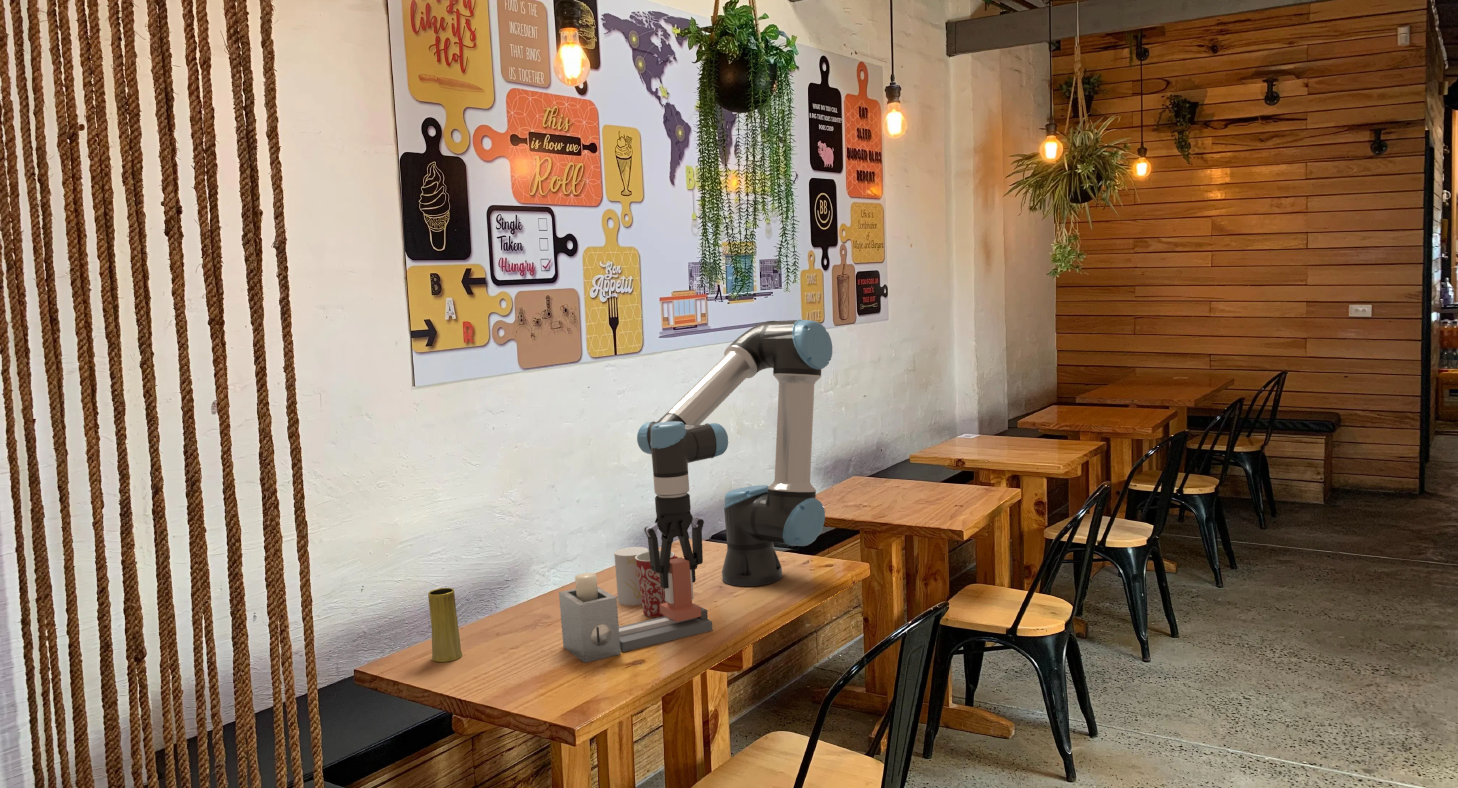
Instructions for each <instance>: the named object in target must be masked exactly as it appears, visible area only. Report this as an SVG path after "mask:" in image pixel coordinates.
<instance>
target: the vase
mask: <svg viewBox="0 0 1458 788" xmlns="http://www.w3.org/2000/svg"><path fill="white" fill-rule="evenodd" d="M455 595H456V594H455V589H454V588H452V587H441V588H440V587H439V588H435V589H432V590H430V591H429V592H428V594H427V596H428V607H429V617H430V626H431V650H432V651H431V655H432V657H431V658H432V661H433V662H436V663H450V662H454V661H456V660H459V659H461V658H462V656H463V652H462V646H461V638H460V630H459V629H460V628H459V624H458V623H459V622H458V614H457V613H458V612H457V608H456V607H457V605H456V596H455Z"/></svg>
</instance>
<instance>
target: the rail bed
mask: <svg viewBox="0 0 1458 788" xmlns="http://www.w3.org/2000/svg"><path fill="white" fill-rule="evenodd" d="M694 604H695V605H697V604H696V603H694ZM697 606H699V607H701V616H700V617H696V618H692V619H687V620H683V621H679V622H675V621H674V620H672V619H670V618H668V617H666V616H662V617H654V618H652V619H647V620H642V621H637V622H633V623H630V624H624V625H619V637H620V650H621V651H622V653H624V652H629V651H632V650H637V649H641V648H646V647H649V646H652V645H653V646H654V645H656V644H657V645H658V644H661V643H666V642H669V641H670V642H671V641H674V640H678V639H682V638H687V637H691V636H694V635H695V636H696V635H699V634H703V633H707V632H708V633H709V632H711V631H713V621H712V620H711V619H708V617H709V616H708V610H707V609H706V608H704V607H702V606H700V605H697Z"/></svg>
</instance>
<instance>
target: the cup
mask: <svg viewBox="0 0 1458 788" xmlns="http://www.w3.org/2000/svg"><path fill="white" fill-rule="evenodd" d="M648 551H649V548H647V547H645V546H644V547H643V546H631V547H624V548H619V549H617V550H615V551H614V565H615V577H616V578H615V581H616V592H617V604H619V605H623V606H639V605H642V599H641V592H640V584H639V578H638V571H637V563H636V559H635V557H636V556H637V555H638V554H641V553H644V552H648Z"/></svg>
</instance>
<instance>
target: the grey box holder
mask: <svg viewBox="0 0 1458 788" xmlns="http://www.w3.org/2000/svg"><path fill="white" fill-rule="evenodd" d="M597 589H598V599H597V600H592V601H587V602H582V601H581V600H579V599H578V598H577V595H576V588H571V589H567V590H562V591H559V592H558V597H559V608H560V620H561V621H560V623H561V634H562V636H561V637H562V645H563V646H562V647H563V648H564V649H565V650H566V651H568V652H569V653H571V654H572V655H573V656H574V657H576V658H577V659H578V660H579V661H581V662H582V663H584V664H587V663H590V662H595V661H598V660H604V659H609V658H611V657H617V656H619V655H621V654H622V653H621V650H620V637H619V627H620V625H619V614H618V612H619V611H618V597H617V596H614V595H613V594H612V593H609V592H608V591H606V590H604V589H603V588H601V587H599V586H597Z"/></svg>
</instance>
